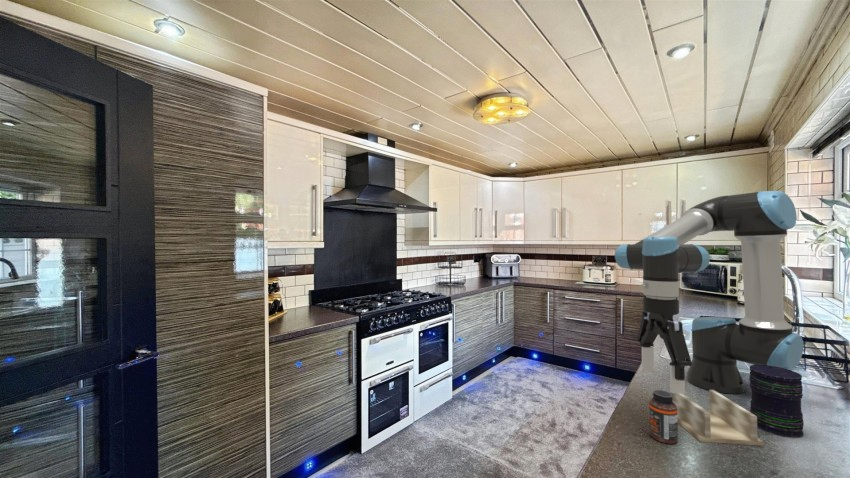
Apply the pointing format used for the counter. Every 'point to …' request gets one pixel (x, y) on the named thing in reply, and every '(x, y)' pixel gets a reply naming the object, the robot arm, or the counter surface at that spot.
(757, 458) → the counter surface
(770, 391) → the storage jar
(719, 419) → the docking cradle
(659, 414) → the supplement bottle
